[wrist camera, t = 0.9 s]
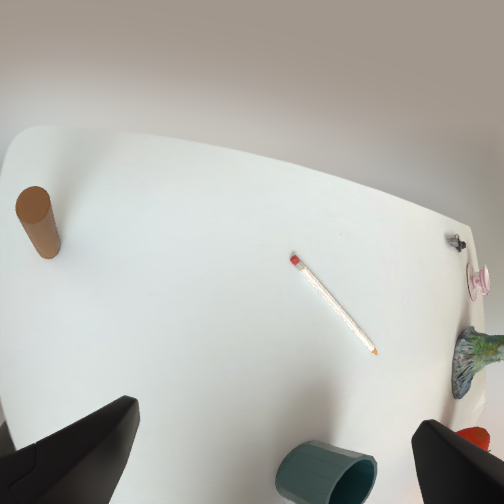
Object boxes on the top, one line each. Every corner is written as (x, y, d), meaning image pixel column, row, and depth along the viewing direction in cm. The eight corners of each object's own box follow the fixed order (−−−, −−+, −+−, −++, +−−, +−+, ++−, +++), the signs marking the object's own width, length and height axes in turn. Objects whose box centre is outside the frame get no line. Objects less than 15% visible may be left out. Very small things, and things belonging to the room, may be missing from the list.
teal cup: (282, 509, 21) (328, 534, 15) (268, 462, 22) (319, 487, 16) (332, 476, 26) (378, 490, 20) (324, 429, 27) (375, 440, 21)
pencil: (292, 256, 30) (296, 254, 29) (376, 352, 34) (380, 352, 34) (289, 261, 29) (293, 260, 29) (374, 357, 34) (379, 357, 33)
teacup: (464, 264, 68) (481, 259, 63) (471, 263, 74) (487, 259, 69) (470, 303, 65) (487, 300, 60) (476, 298, 72) (492, 295, 67)
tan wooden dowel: (37, 260, 16) (14, 225, 10) (36, 234, 17) (16, 187, 10) (61, 257, 18) (50, 221, 11) (59, 231, 18) (50, 183, 11)
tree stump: (445, 359, 49) (516, 335, 37) (448, 319, 64) (503, 298, 53) (455, 414, 48) (518, 395, 37) (459, 369, 64) (510, 352, 52)
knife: (453, 249, 57) (449, 229, 58) (446, 251, 58) (442, 231, 59) (468, 252, 67) (464, 236, 68) (462, 253, 69) (459, 237, 70)
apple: (429, 448, 40) (487, 450, 28) (448, 416, 47) (499, 415, 35) (427, 482, 39) (479, 486, 27) (447, 450, 45) (494, 452, 34)
